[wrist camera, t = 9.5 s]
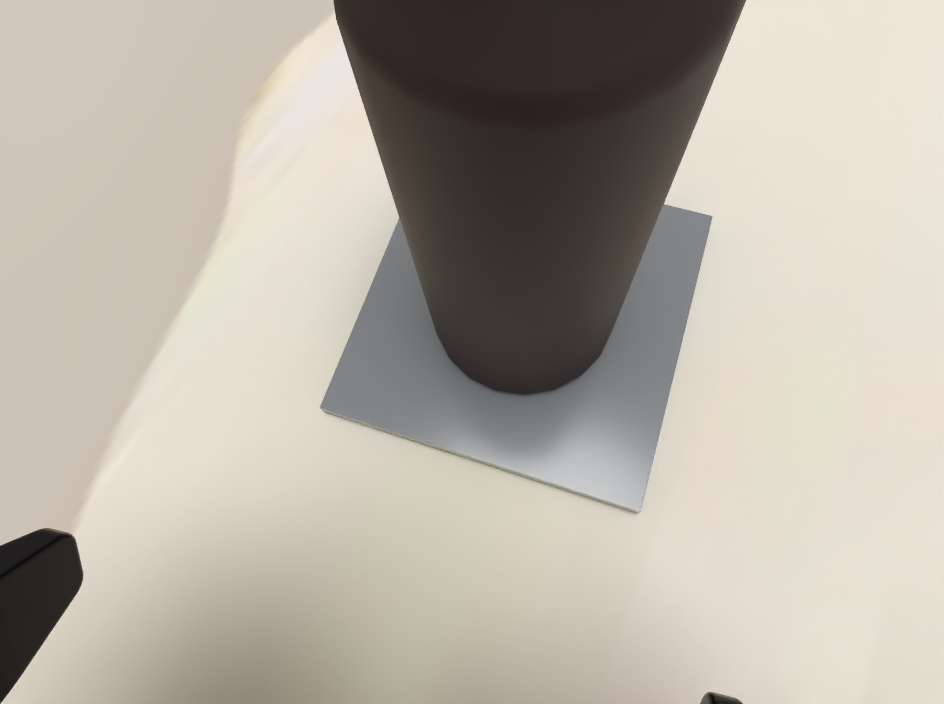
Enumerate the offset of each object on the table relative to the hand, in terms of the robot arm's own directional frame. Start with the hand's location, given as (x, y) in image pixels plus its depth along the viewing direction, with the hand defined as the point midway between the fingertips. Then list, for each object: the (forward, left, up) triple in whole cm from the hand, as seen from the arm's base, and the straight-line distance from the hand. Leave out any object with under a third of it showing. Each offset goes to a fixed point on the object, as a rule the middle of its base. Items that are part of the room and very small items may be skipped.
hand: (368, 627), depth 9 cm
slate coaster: (+11, +1, -14) cm, 17 cm away
